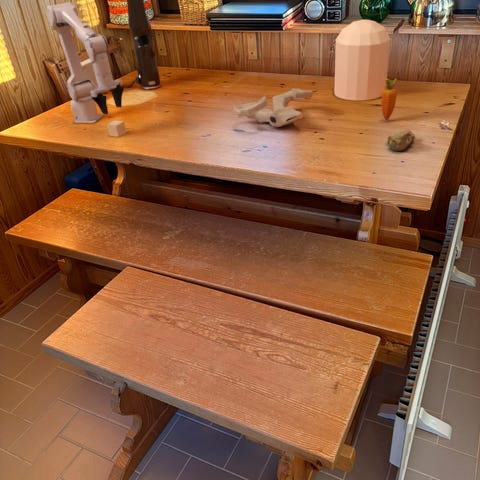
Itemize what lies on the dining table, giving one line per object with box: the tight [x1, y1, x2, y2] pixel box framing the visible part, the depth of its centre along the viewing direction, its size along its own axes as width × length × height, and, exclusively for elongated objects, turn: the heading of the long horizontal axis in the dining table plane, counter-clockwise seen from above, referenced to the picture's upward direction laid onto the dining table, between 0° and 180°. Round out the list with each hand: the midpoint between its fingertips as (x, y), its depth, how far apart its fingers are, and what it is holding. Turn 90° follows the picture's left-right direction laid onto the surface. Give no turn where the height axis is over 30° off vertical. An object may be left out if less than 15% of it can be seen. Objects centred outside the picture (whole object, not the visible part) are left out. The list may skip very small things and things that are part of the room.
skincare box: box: [76, 58, 108, 95], centre depth 218 cm, size 21×6×16 cm, turn 158°
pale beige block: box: [106, 120, 127, 138], centre depth 176 cm, size 5×5×4 cm
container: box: [333, 19, 391, 102], centre depth 186 cm, size 21×21×28 cm
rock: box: [387, 129, 416, 152], centre depth 146 cm, size 11×6×10 cm
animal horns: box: [231, 88, 314, 128], centre depth 171 cm, size 28×26×12 cm
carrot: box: [380, 78, 398, 122], centre depth 161 cm, size 5×5×15 cm
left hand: (112, 110), depth 172 cm, fingers open, 7 cm apart
